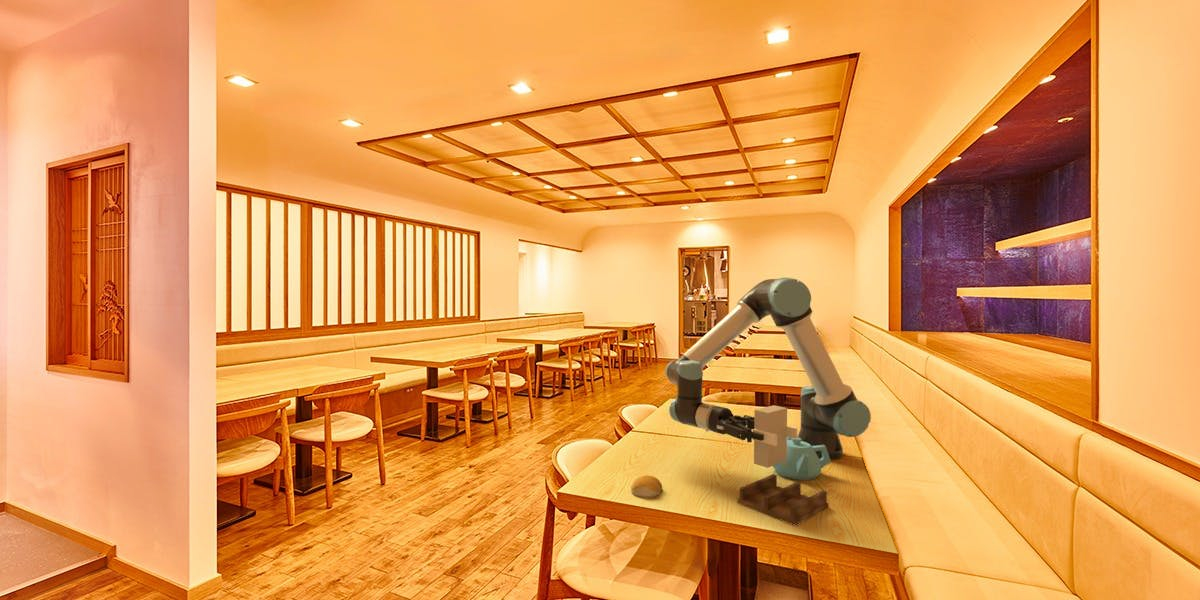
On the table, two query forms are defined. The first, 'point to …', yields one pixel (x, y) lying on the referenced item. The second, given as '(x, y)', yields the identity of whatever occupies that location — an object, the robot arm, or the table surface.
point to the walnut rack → (782, 500)
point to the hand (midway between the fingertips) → (786, 436)
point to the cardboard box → (776, 423)
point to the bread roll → (646, 486)
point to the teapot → (802, 460)
